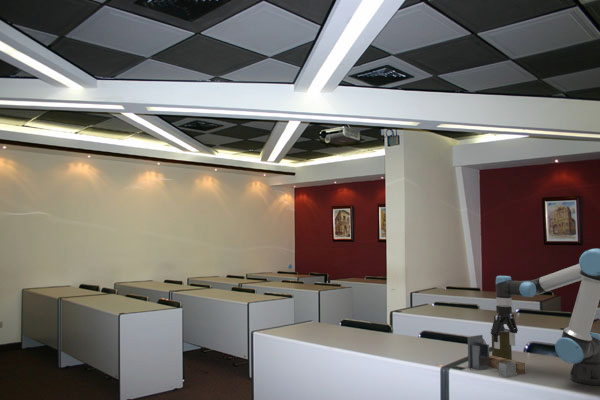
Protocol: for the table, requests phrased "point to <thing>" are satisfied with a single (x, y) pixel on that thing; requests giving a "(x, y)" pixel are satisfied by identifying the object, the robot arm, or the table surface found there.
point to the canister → (503, 345)
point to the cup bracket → (478, 353)
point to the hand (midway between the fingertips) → (504, 347)
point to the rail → (496, 360)
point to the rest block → (507, 369)
